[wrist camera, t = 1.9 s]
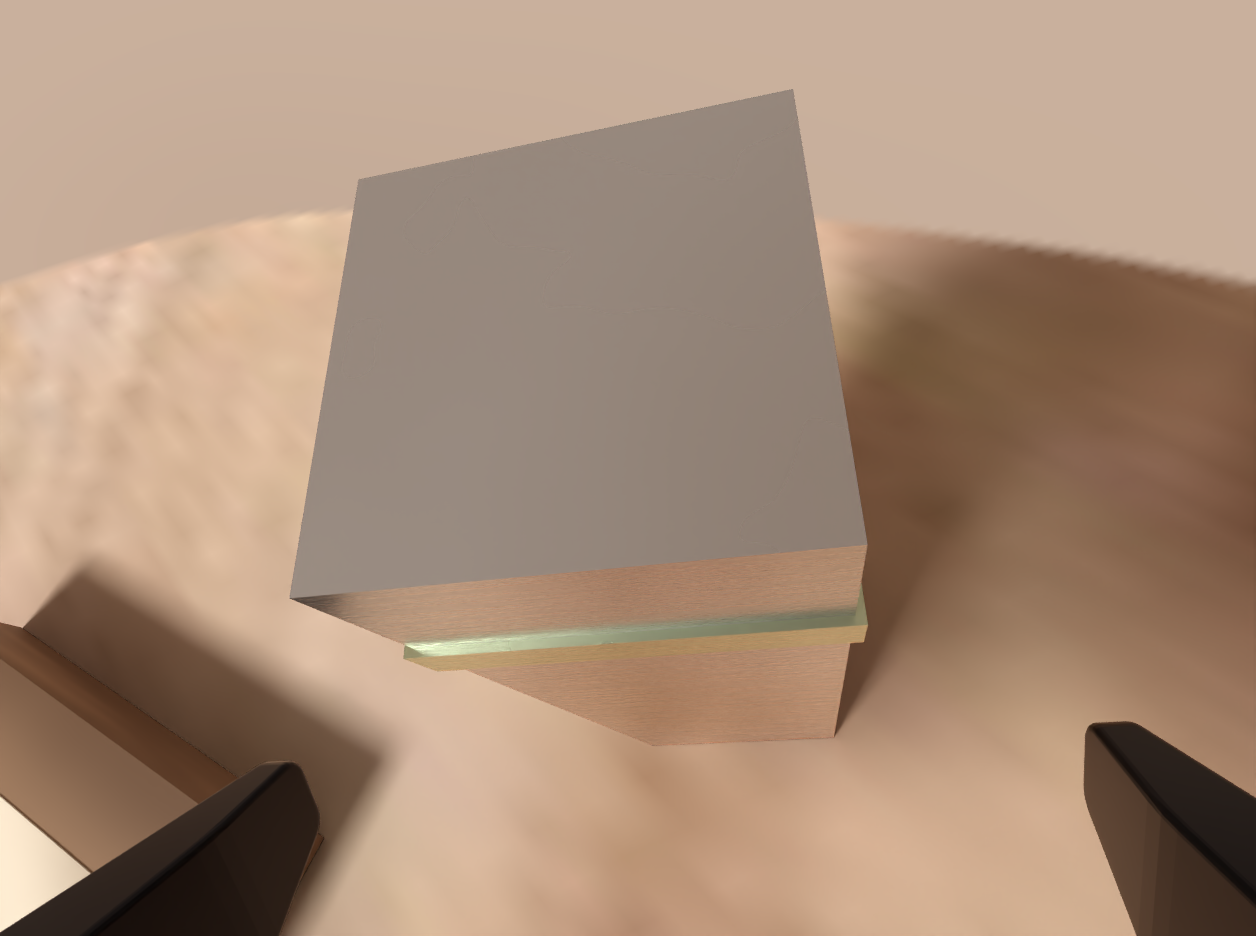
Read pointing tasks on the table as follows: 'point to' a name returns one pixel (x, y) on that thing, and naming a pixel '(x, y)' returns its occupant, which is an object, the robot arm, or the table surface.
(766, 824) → the table surface
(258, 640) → the table surface
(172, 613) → the table surface
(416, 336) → the steel column
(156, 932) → the robot arm
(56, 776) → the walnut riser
